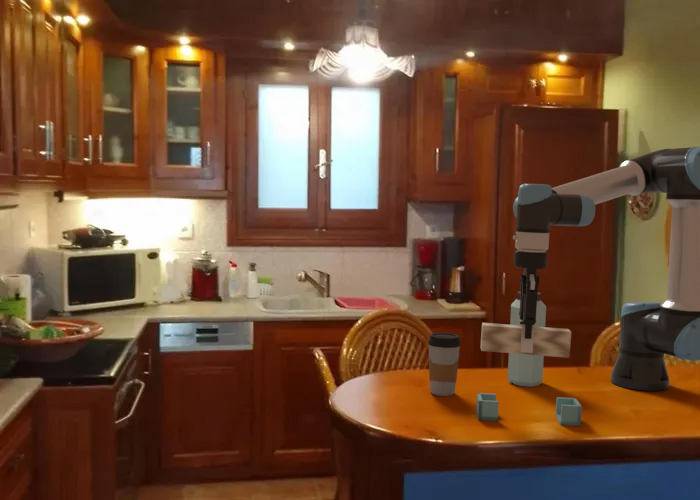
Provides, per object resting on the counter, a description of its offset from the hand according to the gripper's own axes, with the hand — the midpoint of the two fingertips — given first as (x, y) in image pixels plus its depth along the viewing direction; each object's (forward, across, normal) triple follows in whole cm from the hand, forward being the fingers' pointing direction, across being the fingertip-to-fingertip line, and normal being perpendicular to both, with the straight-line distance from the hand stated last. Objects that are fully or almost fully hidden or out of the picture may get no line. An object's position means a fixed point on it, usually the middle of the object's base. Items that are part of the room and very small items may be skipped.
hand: (525, 349), depth 169 cm
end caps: (+15, +3, +1) cm, 16 cm away
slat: (+1, 0, 0) cm, 1 cm away
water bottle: (+15, -30, +4) cm, 34 cm away
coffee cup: (+16, -14, -19) cm, 28 cm away
